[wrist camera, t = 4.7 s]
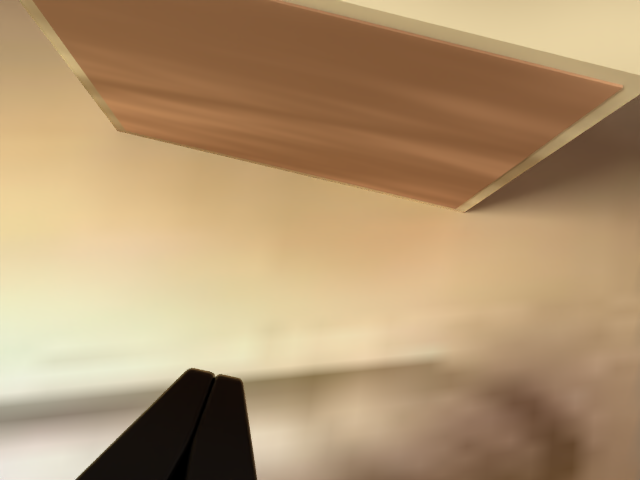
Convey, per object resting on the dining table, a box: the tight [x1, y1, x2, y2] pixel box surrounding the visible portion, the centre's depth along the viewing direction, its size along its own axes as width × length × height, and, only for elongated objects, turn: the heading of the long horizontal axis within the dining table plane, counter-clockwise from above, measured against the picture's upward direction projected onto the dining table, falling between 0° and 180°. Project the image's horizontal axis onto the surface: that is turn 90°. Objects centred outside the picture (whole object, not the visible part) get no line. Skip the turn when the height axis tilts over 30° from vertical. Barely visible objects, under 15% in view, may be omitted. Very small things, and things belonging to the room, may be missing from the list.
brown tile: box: [19, 0, 640, 213], centre depth 14 cm, size 2×12×10 cm, turn 78°
